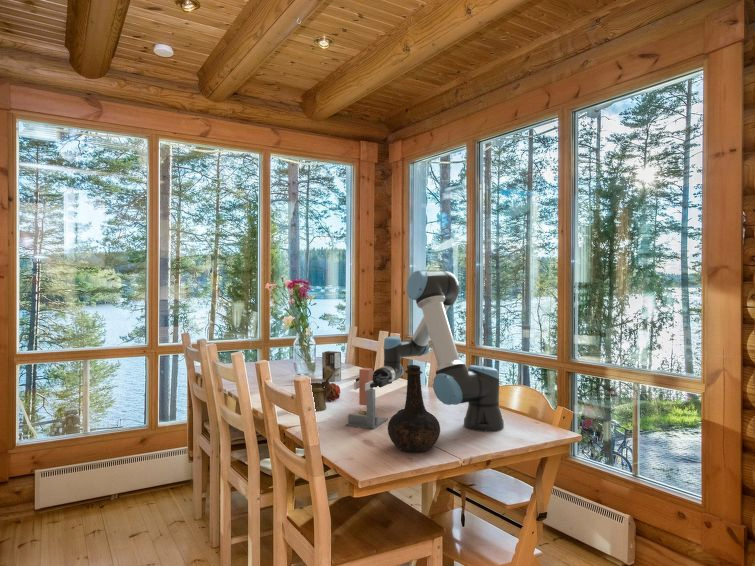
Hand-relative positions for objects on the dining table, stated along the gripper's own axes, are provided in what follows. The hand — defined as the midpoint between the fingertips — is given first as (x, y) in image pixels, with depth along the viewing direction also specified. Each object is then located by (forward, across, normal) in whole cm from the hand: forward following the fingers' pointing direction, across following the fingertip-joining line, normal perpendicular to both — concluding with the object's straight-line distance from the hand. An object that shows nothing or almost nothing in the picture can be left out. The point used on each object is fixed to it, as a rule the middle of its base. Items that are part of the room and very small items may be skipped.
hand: (360, 386), depth 202 cm
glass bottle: (+17, -28, -15) cm, 36 cm away
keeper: (-5, -1, -15) cm, 16 cm away
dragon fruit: (-35, +32, -16) cm, 50 cm away
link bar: (-5, 0, -8) cm, 10 cm away
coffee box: (-76, +54, -16) cm, 95 cm away
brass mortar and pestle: (-17, +27, -16) cm, 36 cm away
